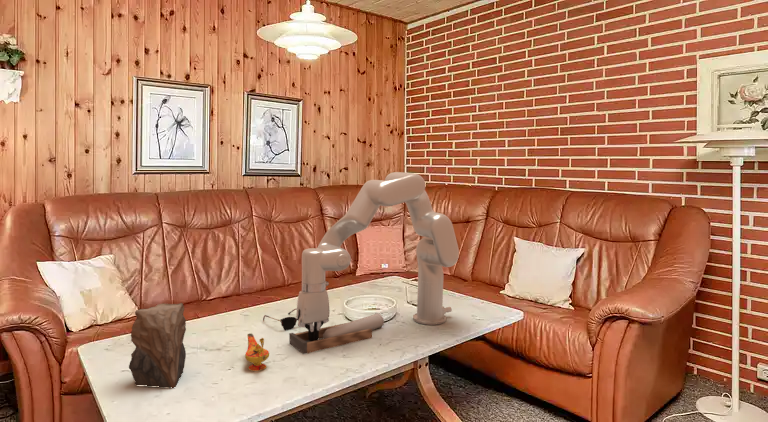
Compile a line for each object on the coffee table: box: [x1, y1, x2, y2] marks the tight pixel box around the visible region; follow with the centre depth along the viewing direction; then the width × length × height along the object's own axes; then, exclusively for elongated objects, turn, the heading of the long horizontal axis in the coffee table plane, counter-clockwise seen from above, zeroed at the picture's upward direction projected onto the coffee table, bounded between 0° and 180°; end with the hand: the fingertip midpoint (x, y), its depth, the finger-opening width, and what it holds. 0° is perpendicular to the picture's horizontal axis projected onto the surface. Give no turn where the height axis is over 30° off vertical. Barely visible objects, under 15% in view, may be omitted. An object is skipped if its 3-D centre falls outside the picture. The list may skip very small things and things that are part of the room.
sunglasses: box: [262, 308, 299, 331], centre depth 187 cm, size 14×16×5 cm
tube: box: [322, 312, 385, 339], centre depth 175 cm, size 5×5×25 cm
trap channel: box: [288, 322, 373, 355], centre depth 169 cm, size 26×10×4 cm, turn 125°
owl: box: [128, 302, 187, 389], centre depth 139 cm, size 13×13×20 cm
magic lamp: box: [244, 333, 270, 372], centre depth 149 cm, size 7×18×11 cm, turn 27°
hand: (313, 341), depth 165 cm, fingers closed
